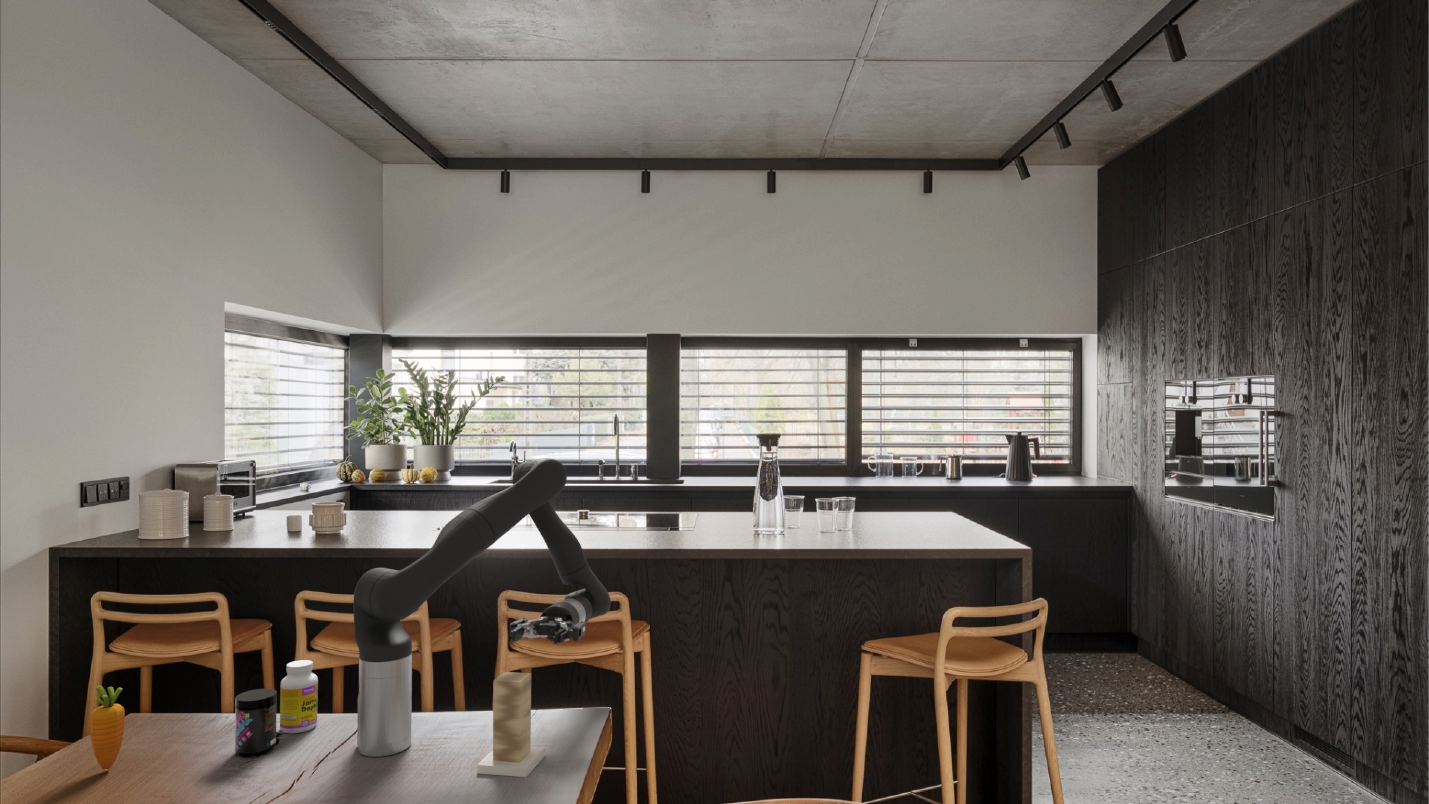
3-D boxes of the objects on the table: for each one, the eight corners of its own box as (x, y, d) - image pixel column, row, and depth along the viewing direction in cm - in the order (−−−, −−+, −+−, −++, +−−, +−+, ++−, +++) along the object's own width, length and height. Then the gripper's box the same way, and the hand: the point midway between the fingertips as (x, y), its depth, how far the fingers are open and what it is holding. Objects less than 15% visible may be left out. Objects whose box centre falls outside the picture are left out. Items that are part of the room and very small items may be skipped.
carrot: (131, 767, 143) (132, 682, 143) (101, 779, 138) (103, 691, 138) (111, 763, 144) (112, 679, 144) (81, 775, 140) (83, 688, 140)
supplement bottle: (301, 736, 157) (302, 669, 157) (271, 733, 158) (272, 667, 158) (324, 723, 163) (325, 659, 163) (296, 720, 165) (296, 657, 165)
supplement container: (241, 745, 152) (242, 690, 152) (280, 742, 154) (281, 687, 154) (228, 760, 146) (229, 702, 146) (270, 757, 147) (270, 699, 147)
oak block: (492, 760, 142) (493, 680, 143) (504, 749, 147) (505, 671, 148) (519, 762, 142) (520, 682, 142) (530, 750, 147) (531, 673, 147)
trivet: (477, 773, 141) (477, 764, 141) (498, 752, 149) (498, 744, 150) (526, 777, 139) (526, 768, 139) (545, 755, 148) (545, 747, 148)
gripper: (532, 599, 173) (500, 616, 157) (596, 603, 170) (570, 620, 154) (530, 635, 172) (499, 655, 156) (595, 639, 170) (569, 660, 154)
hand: (534, 637), depth 155 cm, fingers open, 8 cm apart
